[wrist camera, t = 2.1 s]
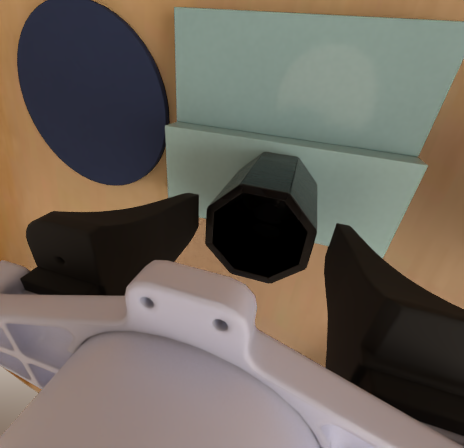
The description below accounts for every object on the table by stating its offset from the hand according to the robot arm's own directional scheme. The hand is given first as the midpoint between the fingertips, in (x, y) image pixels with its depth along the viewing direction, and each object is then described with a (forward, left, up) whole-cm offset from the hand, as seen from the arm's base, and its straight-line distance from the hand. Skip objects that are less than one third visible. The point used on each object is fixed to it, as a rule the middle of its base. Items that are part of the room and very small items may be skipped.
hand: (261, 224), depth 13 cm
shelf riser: (+2, -3, -8) cm, 9 cm away
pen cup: (0, 0, -5) cm, 5 cm away
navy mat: (+15, +7, -8) cm, 19 cm away
